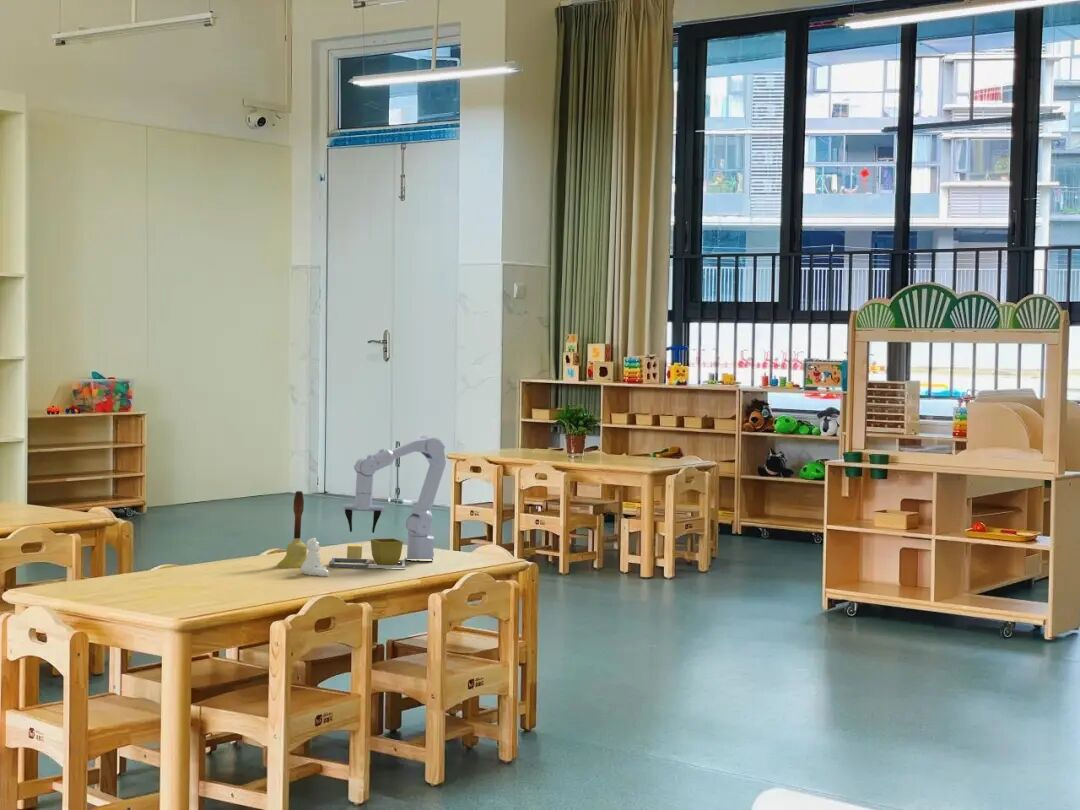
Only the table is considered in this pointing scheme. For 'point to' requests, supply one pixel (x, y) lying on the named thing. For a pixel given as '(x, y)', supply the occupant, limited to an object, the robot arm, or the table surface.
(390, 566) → the sorting board
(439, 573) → the table surface
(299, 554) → the handbell
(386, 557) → the flower pot
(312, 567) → the white creature statuette
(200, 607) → the table surface
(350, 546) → the ochre block
